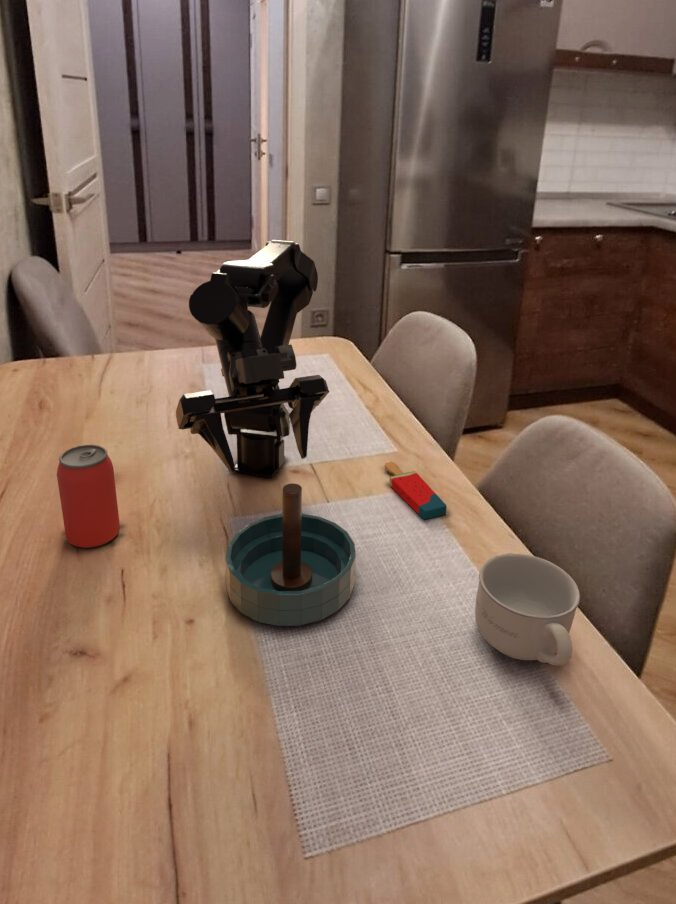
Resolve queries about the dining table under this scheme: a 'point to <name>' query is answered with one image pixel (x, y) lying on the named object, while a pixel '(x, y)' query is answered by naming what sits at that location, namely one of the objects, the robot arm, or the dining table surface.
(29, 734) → the dining table surface
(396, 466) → the popsicle
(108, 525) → the beer can
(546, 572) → the teacup
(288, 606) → the bowl
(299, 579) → the wooden peg stand
